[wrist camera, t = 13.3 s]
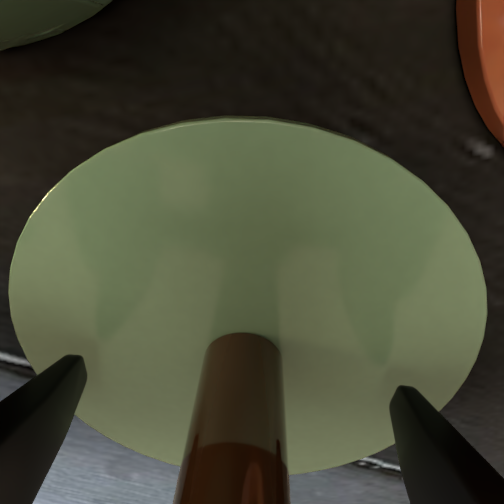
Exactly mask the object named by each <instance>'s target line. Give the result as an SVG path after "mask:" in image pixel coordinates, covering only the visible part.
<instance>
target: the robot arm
mask: <svg viewBox="0 0 504 504" xmlns="http://www.w3.org/2000/svg"><path fill="white" fill-rule="evenodd" d="M86 382H87V370H86V366H85V362H84V358H83V357H82V356H81V355H73V354H68V355H65V356H63V357H62V358H61V359H59V360H58V361H56V362H55V363H54V364H52V365H51V366H49V367H48V368H47V369H45V370H44V371H42V372H41V373H40V374H38V375H37V376H35V377H34V378H33V379H31V380H30V381H28V382H27V383H26V384H24V385H23V386H21V387H20V388H19V389H17V390H16V391H15V392H13V393H12V394H10V395H9V396H8V397H6V398H5V399H3V400H2V401H1V402H0V504H32V503H33V501H34V499H35V497H36V495H37V493H38V491H39V489H40V487H41V485H42V483H43V481H44V479H45V477H46V475H47V473H48V471H49V469H50V467H51V465H52V463H53V461H54V459H55V457H56V455H57V453H58V451H59V449H60V447H61V445H62V443H63V441H64V439H65V437H66V434H67V432H68V429H69V427H70V424H71V422H72V419H73V416H74V414H75V411H76V409H77V406H78V403H79V401H80V398H81V396H82V393H83V390H84V388H85V385H86ZM389 412H390V417H391V422H392V428H393V433H394V439H395V444H396V449H397V455H398V460H399V464H400V469H401V473H402V476H403V480H404V483H405V487H406V490H407V494H408V497H409V500H410V504H504V478H503V477H502V476H501V475H500V474H499V473H498V472H497V471H496V470H495V469H494V468H493V467H492V466H491V465H490V464H489V463H488V462H487V461H486V460H485V459H484V458H483V457H482V456H481V455H480V454H479V453H478V452H477V451H476V450H475V449H474V448H473V447H472V446H471V444H470V443H469V442H468V441H467V440H466V439H465V438H464V437H463V436H462V435H461V434H460V433H459V432H458V431H457V430H456V429H455V428H454V427H453V426H452V425H451V424H450V423H449V422H448V421H447V420H446V419H445V418H444V417H443V416H442V415H441V414H440V413H439V412H438V411H437V410H436V409H435V407H434V406H433V405H432V404H431V403H430V402H429V401H428V400H427V399H426V398H425V397H424V396H423V395H422V394H421V393H420V392H419V391H418V390H417V389H416V388H414V387H413V386H405V385H399V386H398V387H397V389H396V391H395V393H394V395H393V397H392V399H391V401H390V404H389Z"/></svg>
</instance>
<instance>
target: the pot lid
mask: <svg viewBox="0 0 504 504" xmlns="http://www.w3.org/2000/svg"><path fill="white" fill-rule="evenodd" d="M8 294H9V303H10V311H11V318H12V321H13V325H14V328H15V332H16V335H17V339H18V341H19V343H20V345H21V347H22V349H23V352H24V354H25V356H26V358H27V360H28V362H29V363H30V365H31V366H32V368H33V369H34V371H35V372H36V374H37V375H38V374H40V373H41V372H42V371H44V370H45V369H47V368H48V367H49V366H51V365H52V364H54V363H55V362H56V361H58V360H59V359H61V358H62V357H63V356H65V355H68V354H73V355H81V356H82V357H83V358H84V362H85V366H86V370H87V382H86V385H85V388H84V390H83V393H82V396H81V398H80V401H79V403H78V406H77V409H76V411H75V414H74V415H76V416H77V417H78V418H79V419H81V420H82V421H83V422H85V423H86V424H87V425H89V426H90V427H92V428H93V429H95V430H96V431H98V432H100V433H101V434H103V435H104V436H106V437H108V438H109V439H111V440H113V441H115V442H117V443H119V444H121V445H123V446H125V447H127V448H129V449H131V450H134V451H136V452H138V453H141V454H143V455H145V456H148V457H151V458H154V459H157V460H160V461H163V462H166V463H169V464H173V465H177V466H180V471H179V476H178V480H177V485H176V490H175V494H174V499H173V504H291V502H290V484H289V475H294V474H301V473H308V472H314V471H320V470H324V469H328V468H333V467H337V466H341V465H344V464H347V463H350V462H353V461H357V460H360V459H362V458H365V457H367V456H370V455H372V454H375V453H377V452H379V451H382V450H384V449H386V448H387V447H389V446H391V445H393V444H395V439H394V433H393V428H392V422H391V417H390V412H389V404H390V401H391V399H392V397H393V395H394V393H395V391H396V389H397V387H398V386H399V385H405V386H413V387H414V388H416V389H417V390H418V391H419V392H420V393H421V394H422V395H423V396H424V397H425V398H426V399H427V400H428V401H429V402H430V403H431V404H432V405H433V406H434V407H435V409H436V410H437V411H438V412H439V411H440V410H441V409H442V408H443V407H444V406H445V405H446V404H447V403H448V402H449V401H450V400H451V399H452V398H453V396H454V395H455V394H456V392H457V391H458V390H459V388H460V387H461V386H462V384H463V383H464V382H465V380H466V378H467V376H468V375H469V373H470V371H471V369H472V367H473V365H474V363H475V361H476V359H477V356H478V353H479V350H480V348H481V345H482V342H483V339H484V333H485V326H486V320H487V291H486V284H485V280H484V275H483V271H482V267H481V263H480V259H479V257H478V255H477V253H476V250H475V248H474V246H473V244H472V242H471V239H470V237H469V235H468V233H467V231H466V230H465V229H464V227H463V226H462V224H461V223H460V221H459V220H458V219H457V217H456V216H455V214H454V213H453V212H452V210H451V209H450V207H449V206H448V205H447V204H446V203H445V202H444V201H443V200H442V199H441V198H440V197H439V196H438V195H437V194H436V193H435V192H434V191H433V190H432V189H431V188H430V187H429V186H428V185H427V184H426V183H425V182H424V181H423V180H421V179H420V178H419V177H417V176H416V175H415V174H413V173H412V172H410V171H409V170H408V169H406V168H405V167H403V166H402V165H401V164H399V163H398V162H396V161H395V160H393V159H392V158H391V157H389V156H388V155H386V154H384V153H382V152H380V151H378V150H376V149H374V148H372V147H370V146H368V145H366V144H364V143H362V142H360V141H358V140H356V139H354V138H352V137H350V136H347V135H344V134H341V133H338V132H334V131H331V130H328V129H325V128H322V127H319V126H316V125H313V124H308V123H303V122H297V121H291V120H285V119H280V118H274V117H262V116H230V115H226V116H217V117H208V118H199V119H190V120H183V121H179V122H175V123H172V124H168V125H164V126H160V127H156V128H152V129H149V130H145V131H143V132H141V133H138V134H136V135H134V136H131V137H129V138H127V139H124V140H122V141H120V142H117V143H115V144H113V145H111V146H109V147H107V148H105V149H103V150H102V151H100V152H99V153H97V154H95V155H94V156H92V157H91V158H89V159H88V160H86V161H85V162H83V163H81V164H80V165H78V166H77V167H75V168H74V169H72V170H71V171H70V172H69V173H68V174H67V175H66V176H65V177H64V178H62V179H61V180H60V181H59V182H58V183H57V184H56V185H55V186H54V187H53V188H52V189H50V190H49V191H48V193H47V194H46V195H45V196H44V198H43V199H42V200H41V202H40V203H39V204H38V206H37V207H36V208H35V210H34V211H33V212H32V214H31V215H30V217H29V219H28V221H27V223H26V225H25V227H24V229H23V231H22V233H21V235H20V237H19V239H18V241H17V244H16V248H15V252H14V255H13V259H12V263H11V266H10V277H9V291H8Z"/></svg>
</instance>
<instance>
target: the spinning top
mask: <svg viewBox="0 0 504 504" xmlns="http://www.w3.org/2000/svg"><path fill="white" fill-rule="evenodd" d="M456 18H457V33H458V47H459V52H460V57H461V62H462V67H463V72H464V77H465V80H466V83H467V85H468V88H469V91H470V94H471V96H472V99H473V102H474V104H475V107H476V108H477V110H478V112H479V114H480V115H481V117H482V119H483V121H484V122H485V124H486V126H487V128H488V129H489V130H490V132H491V133H492V134H493V135H494V136H495V137H496V139H497V140H498V141H499V142H500V143H501V144H502V146H503V147H504V0H456Z"/></svg>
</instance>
